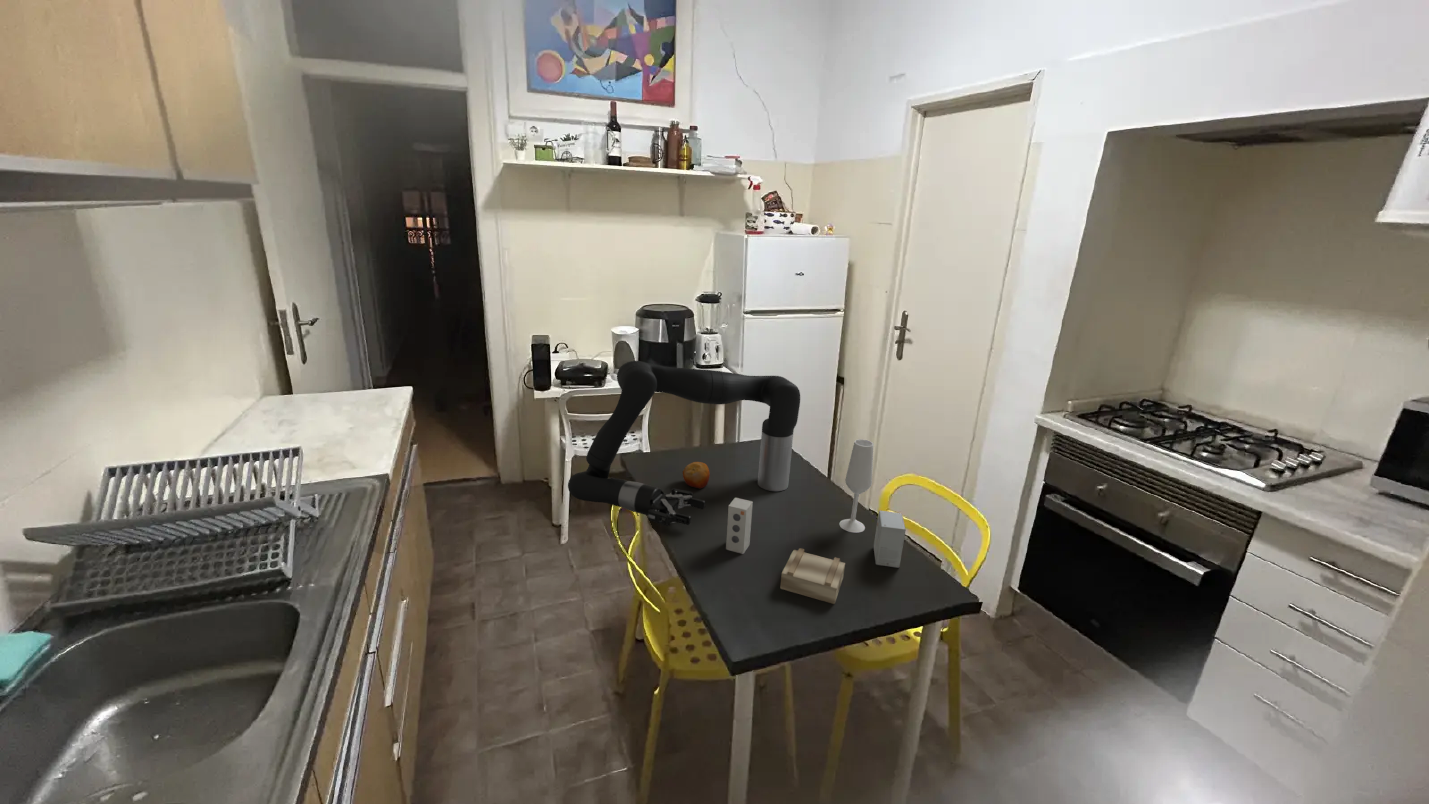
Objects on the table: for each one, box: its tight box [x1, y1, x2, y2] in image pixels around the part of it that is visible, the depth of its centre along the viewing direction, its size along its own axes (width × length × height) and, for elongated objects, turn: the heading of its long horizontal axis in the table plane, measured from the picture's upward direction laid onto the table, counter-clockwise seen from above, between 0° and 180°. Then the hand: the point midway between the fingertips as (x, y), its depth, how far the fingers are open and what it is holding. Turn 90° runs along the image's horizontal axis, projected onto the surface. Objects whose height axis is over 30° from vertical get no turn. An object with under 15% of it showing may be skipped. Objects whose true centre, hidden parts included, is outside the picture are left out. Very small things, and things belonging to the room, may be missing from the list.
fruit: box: [682, 461, 711, 489], centre depth 169 cm, size 8×8×8 cm
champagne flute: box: [839, 438, 875, 534], centre depth 147 cm, size 7×7×24 cm
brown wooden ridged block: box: [780, 547, 846, 605], centre depth 126 cm, size 10×12×5 cm
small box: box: [873, 510, 906, 568], centre depth 137 cm, size 8×6×10 cm
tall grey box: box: [725, 497, 754, 555], centre depth 137 cm, size 5×4×12 cm
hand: (697, 512), depth 141 cm, fingers open, 8 cm apart
